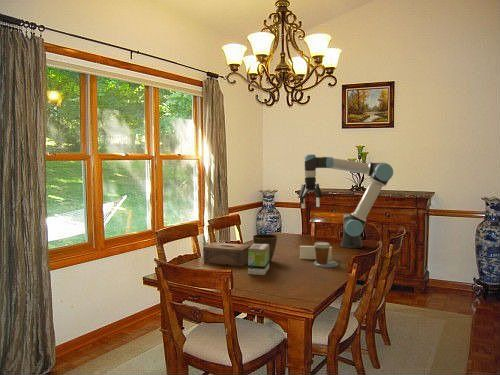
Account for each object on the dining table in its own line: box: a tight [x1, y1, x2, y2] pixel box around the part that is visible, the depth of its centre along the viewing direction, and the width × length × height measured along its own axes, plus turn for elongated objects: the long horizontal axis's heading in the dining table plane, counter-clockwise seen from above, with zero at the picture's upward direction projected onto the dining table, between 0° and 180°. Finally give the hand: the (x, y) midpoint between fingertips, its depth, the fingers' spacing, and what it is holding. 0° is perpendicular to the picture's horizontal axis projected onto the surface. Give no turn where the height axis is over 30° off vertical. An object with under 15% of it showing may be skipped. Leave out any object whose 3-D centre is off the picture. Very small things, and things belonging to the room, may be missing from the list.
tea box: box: [247, 243, 270, 276], centre depth 244 cm, size 15×10×15 cm, turn 168°
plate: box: [313, 259, 340, 268], centre depth 259 cm, size 15×15×1 cm
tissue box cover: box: [203, 241, 252, 267], centre depth 267 cm, size 26×14×10 cm, turn 68°
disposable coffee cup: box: [313, 241, 331, 264], centre depth 258 cm, size 10×10×12 cm
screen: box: [299, 245, 333, 261], centre depth 271 cm, size 20×2×8 cm, turn 80°
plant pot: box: [252, 233, 278, 263], centre depth 266 cm, size 15×15×16 cm
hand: (310, 207), depth 296 cm, fingers open, 13 cm apart
